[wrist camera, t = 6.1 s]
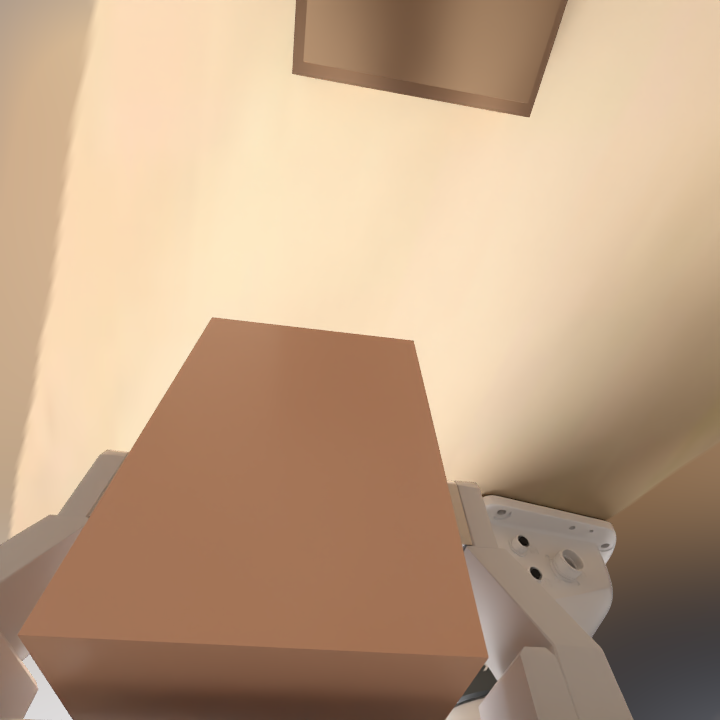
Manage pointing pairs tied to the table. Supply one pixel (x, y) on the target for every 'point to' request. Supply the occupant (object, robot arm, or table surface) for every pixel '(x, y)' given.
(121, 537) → the terracotta block
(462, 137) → the table surface
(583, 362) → the table surface
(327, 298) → the table surface
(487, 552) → the robot arm
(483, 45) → the plinth
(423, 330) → the table surface
